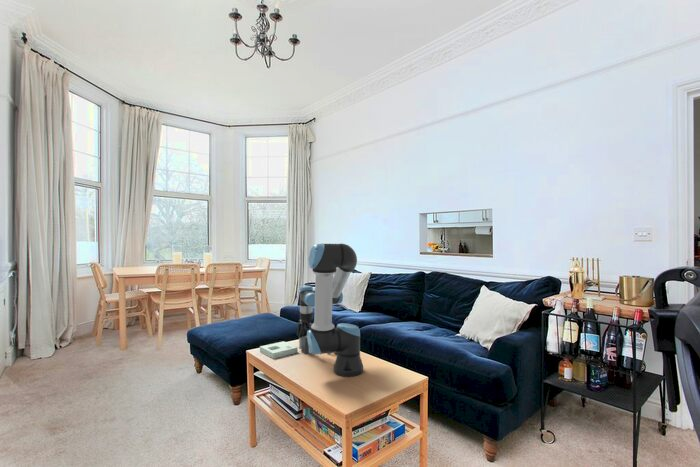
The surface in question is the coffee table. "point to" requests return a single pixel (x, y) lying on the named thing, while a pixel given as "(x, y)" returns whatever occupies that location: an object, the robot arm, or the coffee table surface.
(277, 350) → the outlet plate
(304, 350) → the charger block
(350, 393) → the coffee table surface
